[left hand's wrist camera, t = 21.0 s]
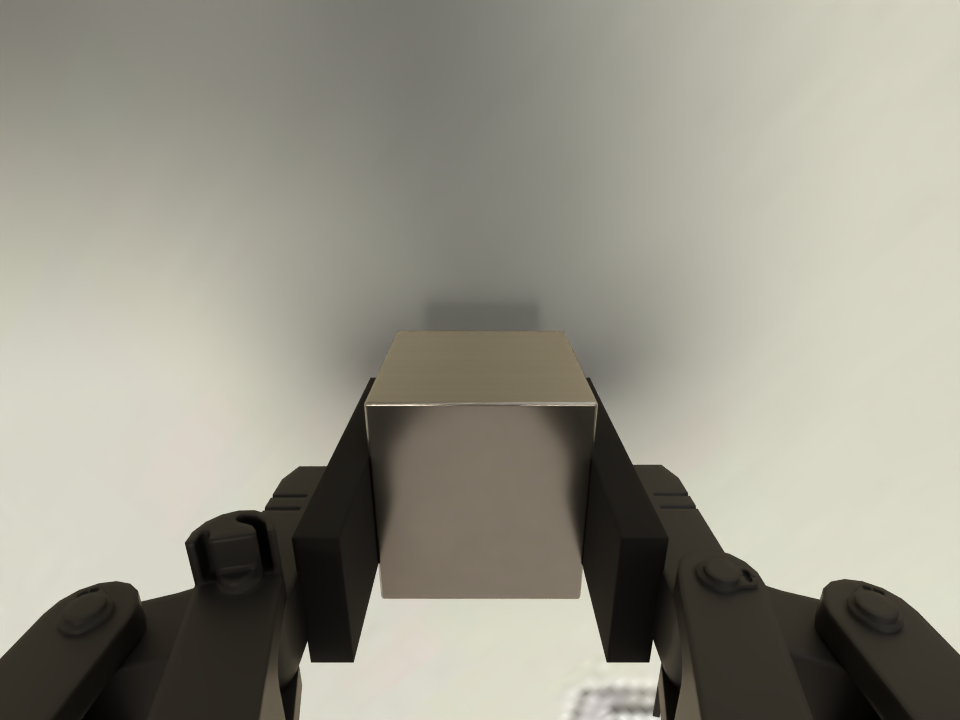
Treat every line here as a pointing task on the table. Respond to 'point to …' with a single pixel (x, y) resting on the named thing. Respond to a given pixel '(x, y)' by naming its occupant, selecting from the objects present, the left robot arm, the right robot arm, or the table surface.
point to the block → (480, 465)
